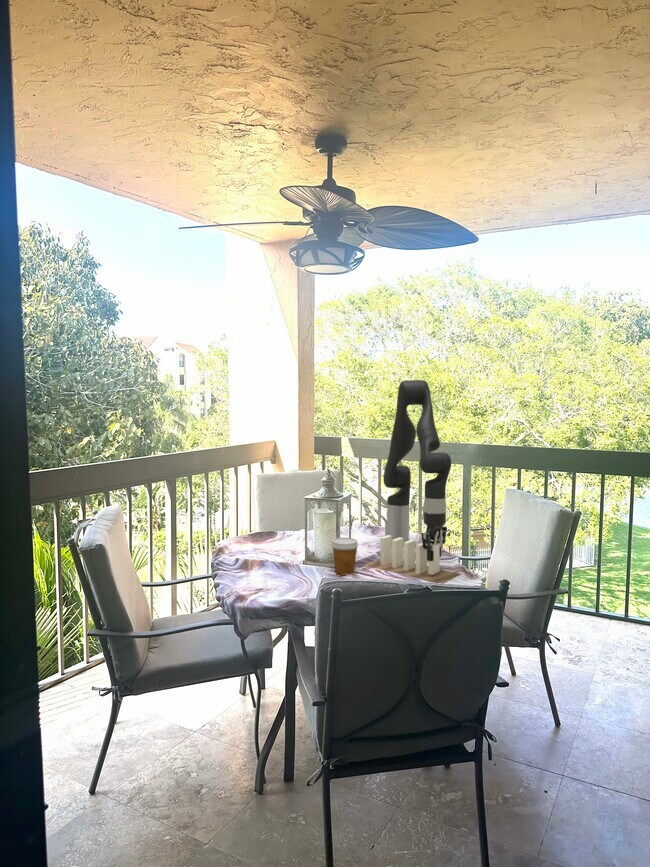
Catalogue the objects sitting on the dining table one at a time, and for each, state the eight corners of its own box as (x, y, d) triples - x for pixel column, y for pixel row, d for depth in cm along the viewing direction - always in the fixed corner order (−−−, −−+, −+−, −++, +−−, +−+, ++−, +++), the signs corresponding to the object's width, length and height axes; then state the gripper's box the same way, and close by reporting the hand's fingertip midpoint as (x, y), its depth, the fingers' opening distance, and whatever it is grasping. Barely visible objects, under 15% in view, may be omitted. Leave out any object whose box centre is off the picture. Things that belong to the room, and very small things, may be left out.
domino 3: (403, 570, 203) (403, 542, 202) (410, 566, 206) (411, 539, 206) (407, 571, 202) (407, 543, 201) (414, 567, 205) (415, 540, 205)
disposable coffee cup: (362, 571, 204) (362, 538, 203) (352, 579, 195) (352, 545, 194) (337, 568, 208) (337, 536, 207) (326, 576, 199) (326, 542, 198)
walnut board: (363, 567, 208) (363, 565, 208) (385, 559, 219) (385, 556, 219) (441, 587, 188) (441, 584, 188) (461, 576, 198) (461, 573, 198)
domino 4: (415, 573, 199) (415, 545, 199) (422, 569, 203) (423, 542, 202) (419, 573, 198) (419, 545, 198) (426, 570, 202) (427, 542, 201)
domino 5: (428, 573, 196) (428, 545, 195) (435, 570, 200) (435, 542, 199) (432, 574, 195) (432, 546, 194) (439, 571, 199) (440, 543, 198)
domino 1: (380, 564, 209) (380, 537, 208) (387, 561, 213) (388, 535, 212) (383, 565, 208) (384, 538, 207) (391, 562, 212) (391, 535, 211)
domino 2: (391, 567, 206) (391, 540, 205) (399, 564, 210) (399, 537, 209) (395, 568, 205) (395, 540, 204) (402, 564, 209) (403, 538, 208)
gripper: (435, 505, 204) (434, 552, 205) (414, 512, 193) (413, 561, 194) (454, 508, 199) (453, 556, 200) (434, 515, 188) (433, 566, 189)
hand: (434, 558), depth 197 cm, fingers closed on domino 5, 4 cm apart
